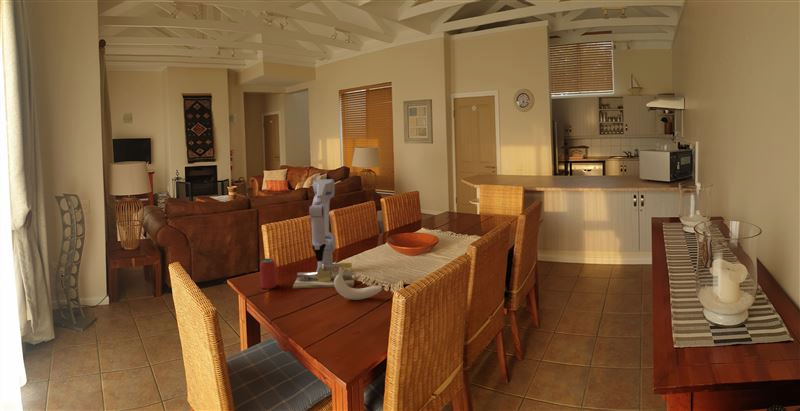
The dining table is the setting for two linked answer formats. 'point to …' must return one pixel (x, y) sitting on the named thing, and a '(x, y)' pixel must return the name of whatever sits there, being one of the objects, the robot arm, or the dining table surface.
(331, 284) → the valve board
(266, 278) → the beer can
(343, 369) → the dining table surface
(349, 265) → the lever
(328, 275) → the valve
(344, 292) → the banana
